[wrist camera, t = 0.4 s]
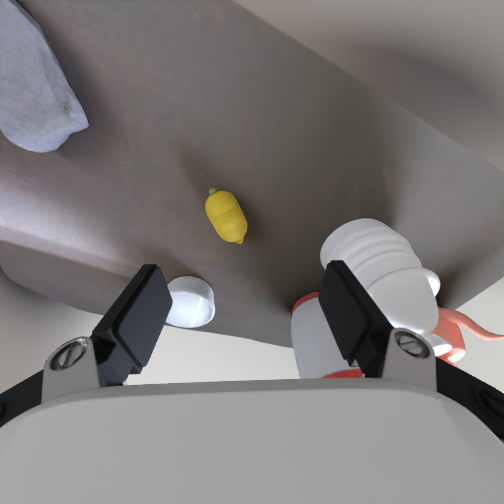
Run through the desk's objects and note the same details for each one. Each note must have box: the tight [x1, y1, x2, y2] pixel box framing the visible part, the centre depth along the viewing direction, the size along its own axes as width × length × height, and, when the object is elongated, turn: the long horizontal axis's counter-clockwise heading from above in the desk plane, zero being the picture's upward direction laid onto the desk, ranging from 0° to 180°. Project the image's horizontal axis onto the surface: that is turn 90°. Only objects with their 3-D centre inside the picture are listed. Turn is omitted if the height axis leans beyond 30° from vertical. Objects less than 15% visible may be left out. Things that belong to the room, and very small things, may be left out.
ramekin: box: [166, 276, 215, 328], centre depth 37 cm, size 11×11×5 cm
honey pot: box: [320, 218, 452, 356], centre depth 27 cm, size 13×13×18 cm
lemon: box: [205, 188, 247, 244], centre depth 27 cm, size 10×5×5 cm, turn 23°
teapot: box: [393, 306, 504, 367], centre depth 41 cm, size 22×15×12 cm
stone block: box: [0, 0, 89, 153], centre depth 19 cm, size 12×5×10 cm
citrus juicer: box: [291, 292, 363, 379], centre depth 35 cm, size 16×17×20 cm
